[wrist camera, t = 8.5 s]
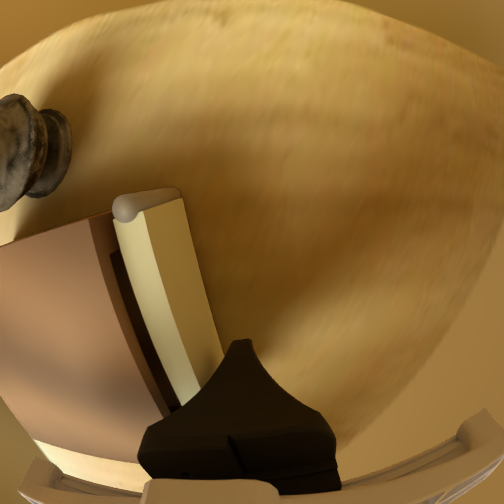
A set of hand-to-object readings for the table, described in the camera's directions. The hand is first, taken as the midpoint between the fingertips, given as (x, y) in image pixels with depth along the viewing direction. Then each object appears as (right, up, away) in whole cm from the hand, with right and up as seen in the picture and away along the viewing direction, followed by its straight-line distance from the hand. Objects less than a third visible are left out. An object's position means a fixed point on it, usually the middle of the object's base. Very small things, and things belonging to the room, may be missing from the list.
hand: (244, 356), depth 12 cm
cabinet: (-9, +1, +2) cm, 9 cm away
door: (-2, +3, +2) cm, 4 cm away
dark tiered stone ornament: (-12, +10, 0) cm, 16 cm away
